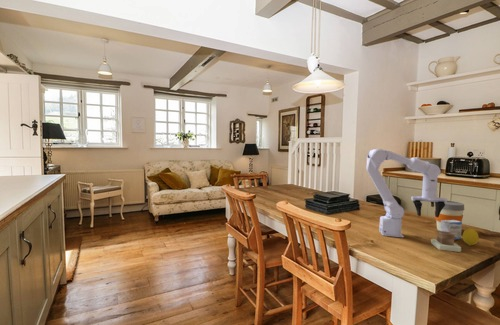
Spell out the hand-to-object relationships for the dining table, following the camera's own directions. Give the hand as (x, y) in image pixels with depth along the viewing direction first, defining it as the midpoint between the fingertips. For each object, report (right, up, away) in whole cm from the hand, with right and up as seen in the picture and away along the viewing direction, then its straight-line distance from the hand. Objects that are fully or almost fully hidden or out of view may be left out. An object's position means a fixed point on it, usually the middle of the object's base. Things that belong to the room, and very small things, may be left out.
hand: (427, 216), depth 125 cm
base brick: (0, -12, -12) cm, 17 cm away
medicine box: (+11, -11, -1) cm, 15 cm away
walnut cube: (-1, -9, -12) cm, 15 cm away
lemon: (+13, -12, -9) cm, 19 cm away
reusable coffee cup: (+19, -10, +12) cm, 24 cm away
